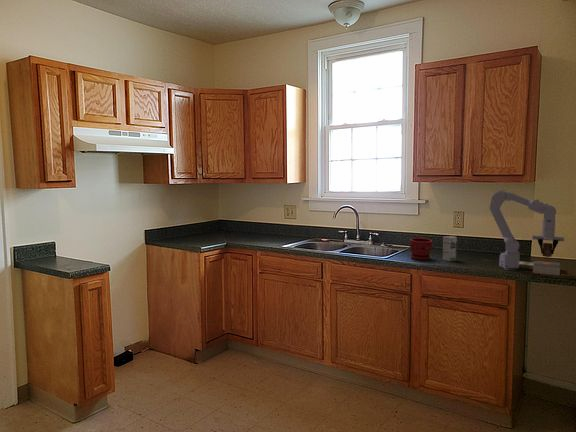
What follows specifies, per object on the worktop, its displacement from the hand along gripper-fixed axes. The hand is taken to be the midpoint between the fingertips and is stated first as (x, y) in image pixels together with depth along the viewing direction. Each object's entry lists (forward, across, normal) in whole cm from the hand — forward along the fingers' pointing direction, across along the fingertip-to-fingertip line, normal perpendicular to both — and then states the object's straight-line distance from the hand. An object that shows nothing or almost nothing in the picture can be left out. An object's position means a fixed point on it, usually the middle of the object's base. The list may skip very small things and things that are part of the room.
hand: (547, 253), depth 234 cm
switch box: (+10, 0, 0) cm, 10 cm away
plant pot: (+10, -67, +4) cm, 68 cm away
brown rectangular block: (+1, 0, 0) cm, 1 cm away
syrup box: (+10, -51, +8) cm, 53 cm away
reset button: (+8, 0, 0) cm, 8 cm away
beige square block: (+10, -10, +15) cm, 20 cm away
